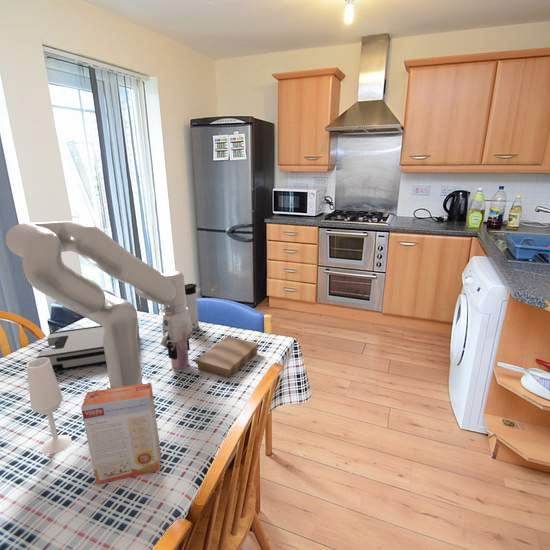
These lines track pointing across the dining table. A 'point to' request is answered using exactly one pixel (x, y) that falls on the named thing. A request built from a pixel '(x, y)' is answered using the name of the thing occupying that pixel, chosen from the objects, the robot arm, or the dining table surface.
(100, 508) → the dining table surface
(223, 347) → the brown flat block
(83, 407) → the cracker box
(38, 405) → the champagne flute
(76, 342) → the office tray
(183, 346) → the beverage can
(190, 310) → the travel mug
